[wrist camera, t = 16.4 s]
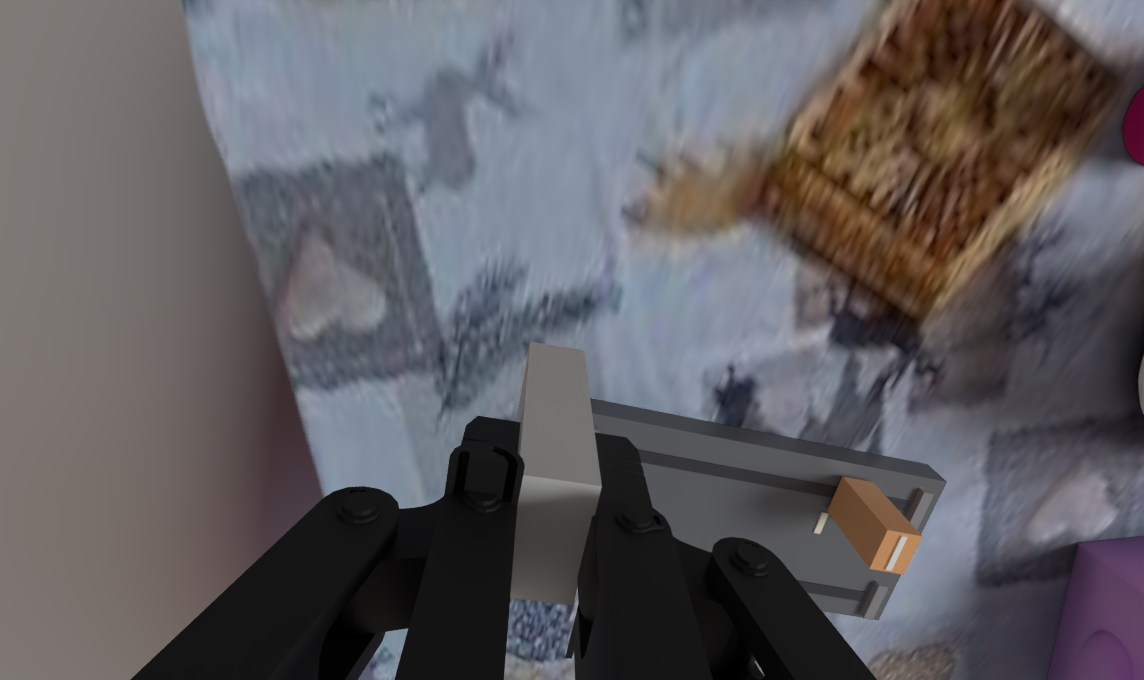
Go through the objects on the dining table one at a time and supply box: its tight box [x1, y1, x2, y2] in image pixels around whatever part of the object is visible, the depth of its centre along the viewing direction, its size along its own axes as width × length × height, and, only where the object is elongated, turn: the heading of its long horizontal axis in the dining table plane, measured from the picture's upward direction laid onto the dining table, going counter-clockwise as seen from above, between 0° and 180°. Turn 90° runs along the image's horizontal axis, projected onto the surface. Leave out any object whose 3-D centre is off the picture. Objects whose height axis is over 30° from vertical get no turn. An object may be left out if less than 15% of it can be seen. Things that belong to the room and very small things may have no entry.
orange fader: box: [828, 476, 922, 575], centre depth 42 cm, size 3×2×6 cm
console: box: [590, 399, 947, 620], centre depth 47 cm, size 13×28×3 cm, turn 77°
